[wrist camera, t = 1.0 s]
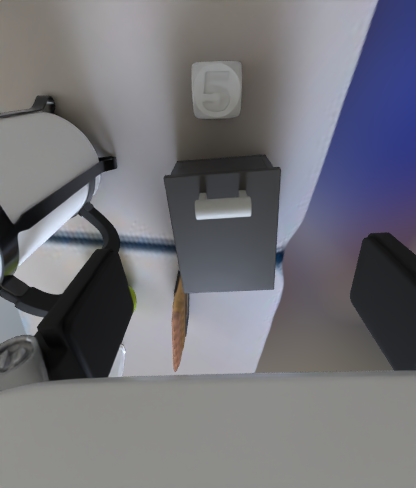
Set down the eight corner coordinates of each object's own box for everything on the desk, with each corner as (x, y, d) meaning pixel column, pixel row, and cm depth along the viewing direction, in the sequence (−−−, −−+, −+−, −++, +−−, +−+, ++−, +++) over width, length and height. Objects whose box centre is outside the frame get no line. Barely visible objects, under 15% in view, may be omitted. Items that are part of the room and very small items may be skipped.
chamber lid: (164, 175, 27) (154, 193, 23) (279, 166, 26) (291, 183, 22) (184, 289, 35) (179, 319, 31) (272, 285, 34) (281, 315, 30)
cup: (97, 355, 57) (81, 392, 50) (100, 324, 52) (82, 361, 45) (130, 361, 58) (118, 399, 51) (136, 332, 53) (123, 369, 46)
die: (239, 63, 29) (242, 60, 25) (237, 113, 32) (240, 118, 28) (194, 64, 30) (190, 62, 25) (196, 114, 32) (193, 119, 28)
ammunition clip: (178, 270, 45) (166, 325, 34) (189, 270, 45) (181, 326, 34) (179, 315, 50) (169, 374, 40) (188, 315, 50) (181, 375, 40)
